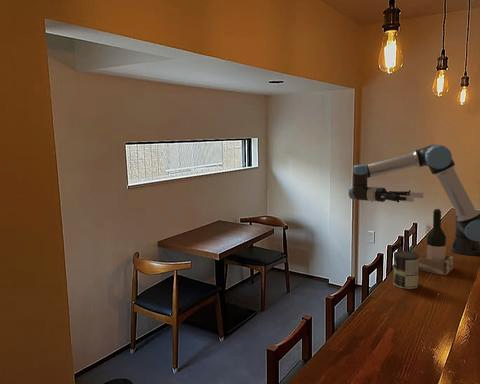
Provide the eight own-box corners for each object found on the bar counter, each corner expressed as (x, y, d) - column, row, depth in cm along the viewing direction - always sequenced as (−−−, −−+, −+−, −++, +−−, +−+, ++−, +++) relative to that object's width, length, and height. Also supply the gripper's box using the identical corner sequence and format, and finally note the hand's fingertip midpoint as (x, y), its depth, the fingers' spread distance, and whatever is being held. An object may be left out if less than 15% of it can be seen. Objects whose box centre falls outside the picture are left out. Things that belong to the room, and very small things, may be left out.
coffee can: (392, 287, 174) (392, 256, 172) (394, 279, 183) (394, 250, 181) (417, 290, 169) (418, 258, 167) (418, 282, 178) (419, 252, 176)
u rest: (427, 263, 203) (427, 252, 202) (453, 268, 194) (453, 256, 194) (418, 270, 194) (418, 258, 193) (445, 275, 185) (446, 262, 185)
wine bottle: (447, 272, 189) (449, 210, 185) (428, 271, 191) (430, 210, 187) (442, 266, 197) (444, 207, 193) (424, 266, 199) (425, 207, 195)
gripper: (386, 198, 221) (426, 201, 207) (366, 204, 203) (409, 208, 189) (386, 184, 220) (426, 186, 206) (366, 190, 202) (409, 192, 188)
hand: (418, 197), depth 197 cm, fingers open, 13 cm apart
